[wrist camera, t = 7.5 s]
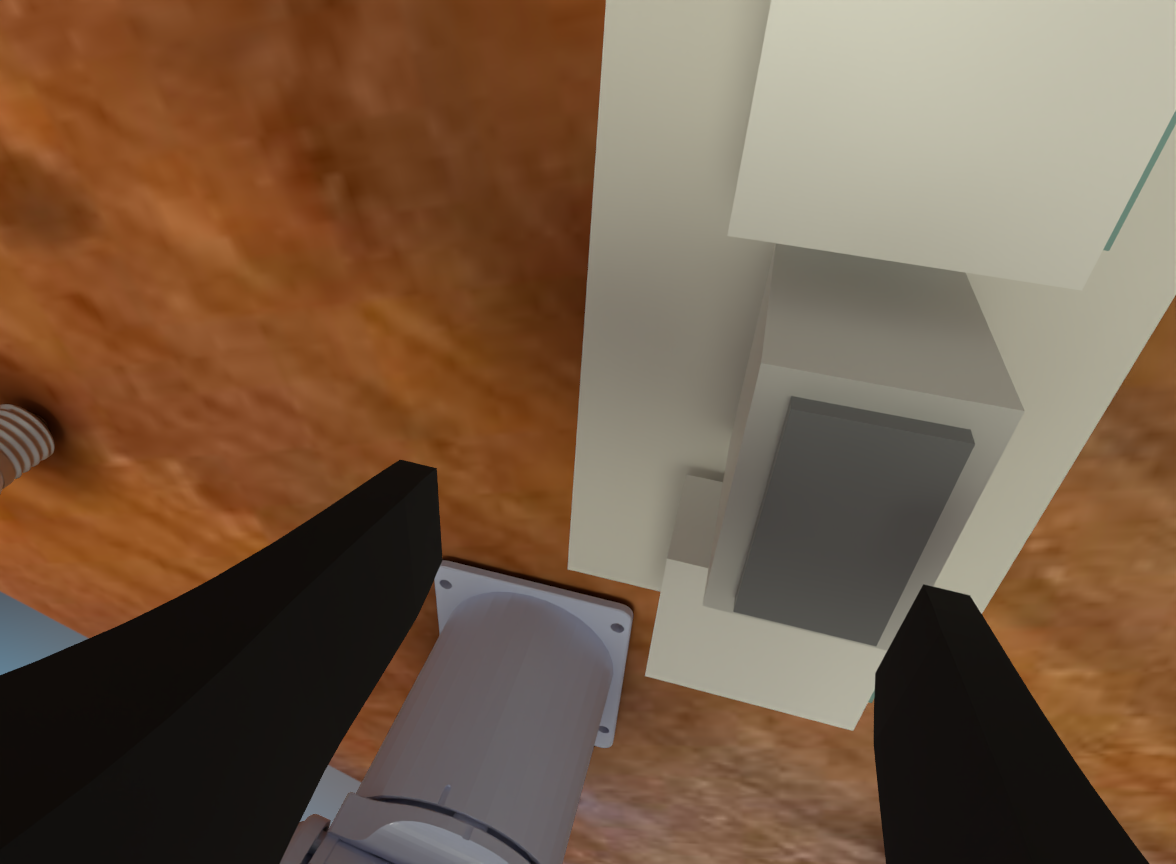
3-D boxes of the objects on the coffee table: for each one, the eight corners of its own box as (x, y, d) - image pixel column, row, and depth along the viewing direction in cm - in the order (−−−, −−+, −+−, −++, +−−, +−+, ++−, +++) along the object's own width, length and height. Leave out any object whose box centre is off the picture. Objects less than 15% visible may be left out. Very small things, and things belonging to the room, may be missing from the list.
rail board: (947, 637, 24) (954, 675, 23) (574, 549, 26) (563, 579, 25) (1383, -111, 12) (1445, -114, 11) (628, -159, 14) (611, -167, 13)
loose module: (877, 473, 19) (899, 669, 14) (729, 443, 20) (699, 620, 15) (961, 263, 16) (1031, 425, 11) (776, 235, 16) (759, 375, 11)
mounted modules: (861, 636, 23) (867, 734, 20) (664, 588, 24) (645, 676, 21) (1190, -71, 12) (1305, -70, 9) (796, -101, 13) (791, -107, 10)
